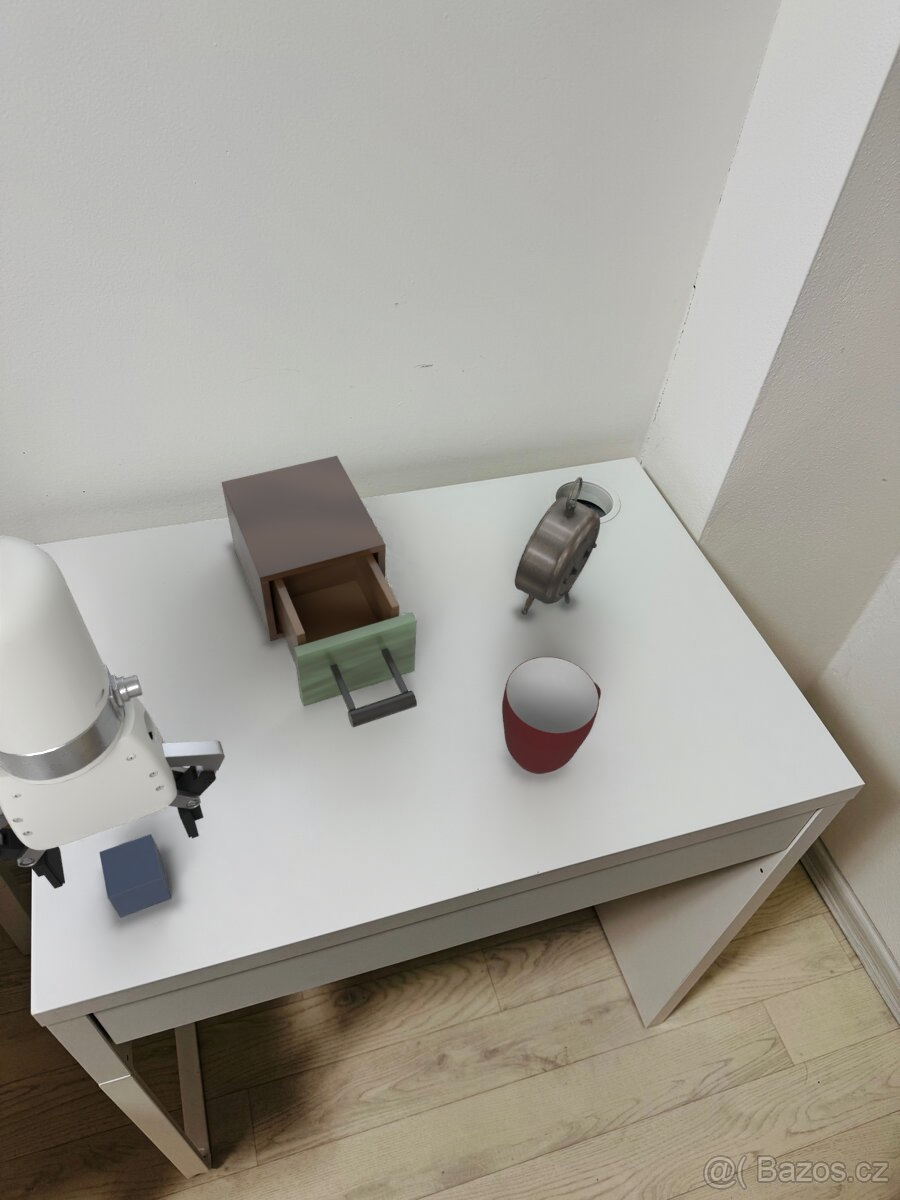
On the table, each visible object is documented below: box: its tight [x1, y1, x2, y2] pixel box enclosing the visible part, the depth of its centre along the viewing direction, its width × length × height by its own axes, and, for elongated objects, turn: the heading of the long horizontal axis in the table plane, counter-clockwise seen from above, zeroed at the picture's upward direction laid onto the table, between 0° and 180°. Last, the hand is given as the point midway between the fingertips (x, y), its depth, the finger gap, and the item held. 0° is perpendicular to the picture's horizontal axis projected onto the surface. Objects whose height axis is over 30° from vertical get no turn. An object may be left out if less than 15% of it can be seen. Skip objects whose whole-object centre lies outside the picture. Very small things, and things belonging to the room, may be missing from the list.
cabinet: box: [221, 455, 386, 642], centre depth 88 cm, size 15×13×10 cm
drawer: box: [269, 554, 418, 729], centre depth 80 cm, size 20×11×8 cm, turn 24°
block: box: [99, 833, 172, 918], centre depth 67 cm, size 4×4×4 cm
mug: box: [501, 656, 602, 775], centre depth 75 cm, size 10×8×10 cm
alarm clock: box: [514, 476, 601, 616], centre depth 86 cm, size 11×5×16 cm, turn 147°
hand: (125, 844), depth 62 cm, fingers open, 9 cm apart
